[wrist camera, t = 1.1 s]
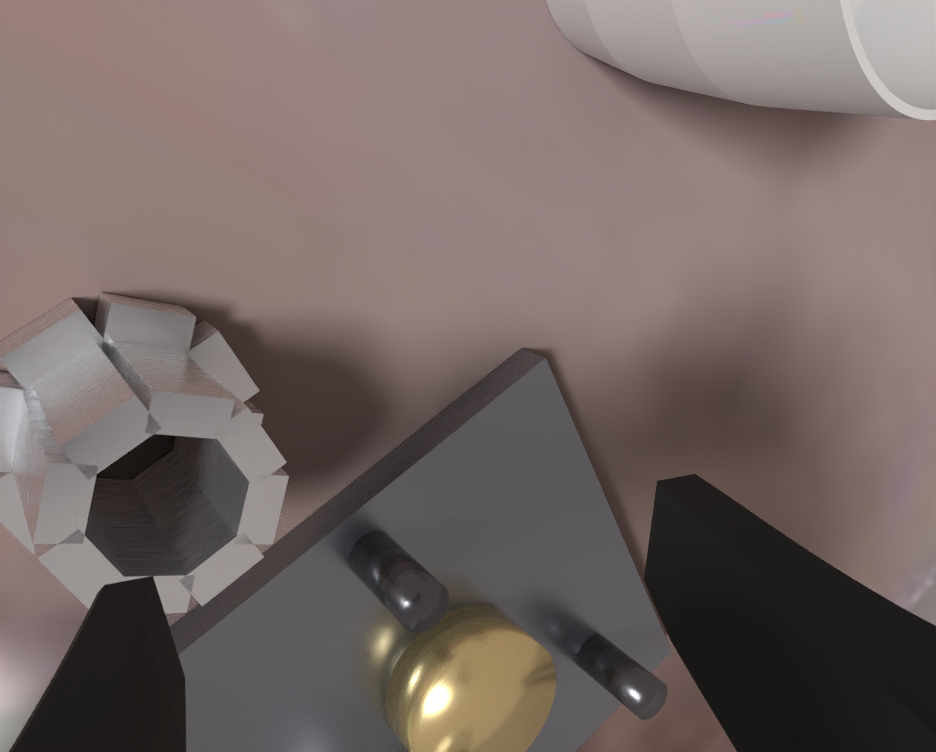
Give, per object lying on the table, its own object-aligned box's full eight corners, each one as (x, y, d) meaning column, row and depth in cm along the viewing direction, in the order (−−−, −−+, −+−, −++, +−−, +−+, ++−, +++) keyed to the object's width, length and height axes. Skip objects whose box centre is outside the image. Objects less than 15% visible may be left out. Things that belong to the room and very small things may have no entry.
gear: (83, 587, 20) (126, 709, 16) (-101, 403, 17) (-105, 499, 13) (284, 437, 22) (368, 512, 18) (153, 246, 19) (218, 287, 15)
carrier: (359, 929, 28) (419, 1039, 25) (93, 688, 21) (127, 802, 17) (650, 635, 33) (732, 695, 30) (521, 348, 25) (614, 385, 22)
